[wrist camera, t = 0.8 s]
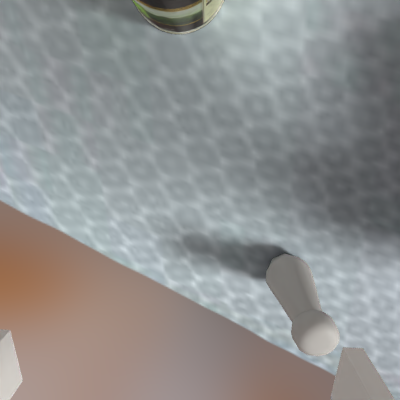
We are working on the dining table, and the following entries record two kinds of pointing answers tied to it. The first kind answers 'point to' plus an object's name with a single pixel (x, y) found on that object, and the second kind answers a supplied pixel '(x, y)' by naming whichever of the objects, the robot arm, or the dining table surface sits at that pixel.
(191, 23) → the coffee can
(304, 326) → the salt shaker
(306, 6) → the dining table surface
